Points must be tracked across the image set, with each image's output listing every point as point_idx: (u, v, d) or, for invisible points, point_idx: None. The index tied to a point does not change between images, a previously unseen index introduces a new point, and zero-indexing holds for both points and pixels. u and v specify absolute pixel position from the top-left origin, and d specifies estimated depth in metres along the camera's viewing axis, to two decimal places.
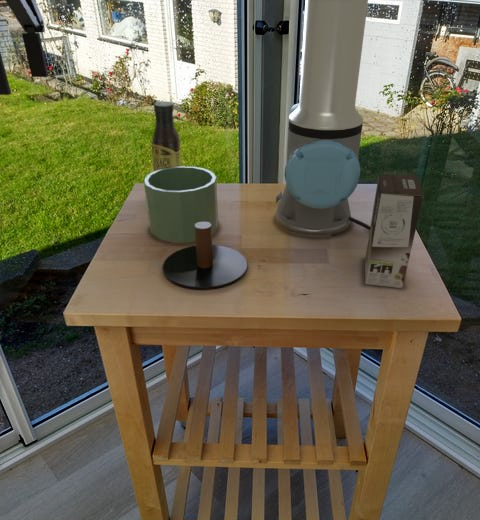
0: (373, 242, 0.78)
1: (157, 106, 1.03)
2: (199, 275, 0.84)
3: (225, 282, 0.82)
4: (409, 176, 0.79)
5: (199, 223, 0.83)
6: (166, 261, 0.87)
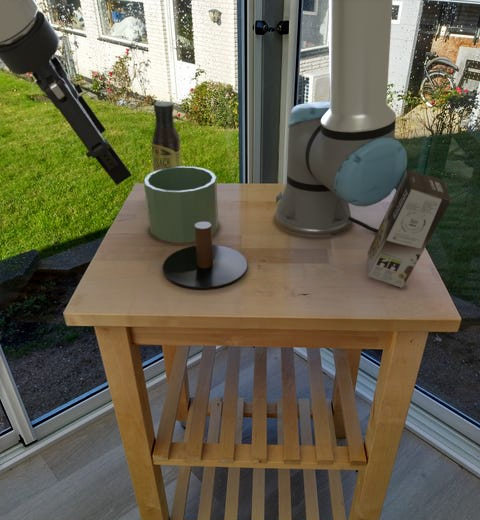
0: (388, 236, 0.77)
1: (157, 106, 1.03)
2: (199, 275, 0.84)
3: (225, 282, 0.82)
4: (435, 179, 0.79)
5: (199, 223, 0.83)
6: (166, 261, 0.87)
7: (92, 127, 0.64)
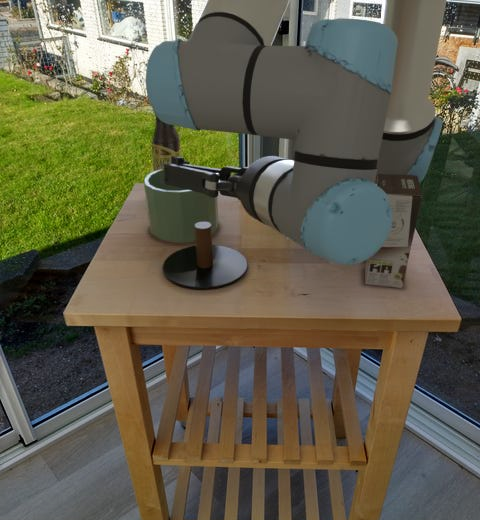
0: None
1: None
2: (199, 275, 0.84)
3: (225, 282, 0.82)
4: (409, 176, 0.79)
5: (199, 223, 0.83)
6: (166, 261, 0.87)
7: None
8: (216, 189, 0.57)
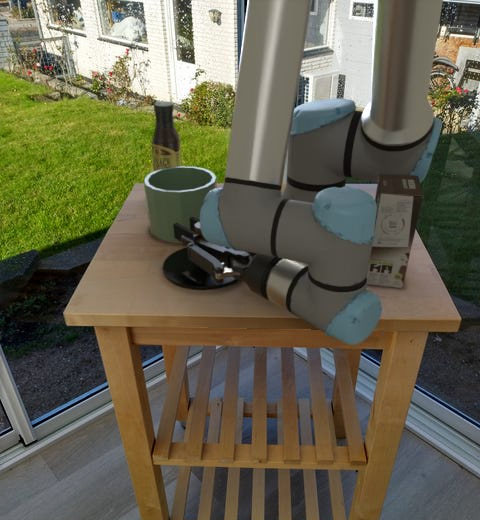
0: (373, 242, 0.78)
1: (157, 106, 1.03)
2: (199, 275, 0.84)
3: (225, 282, 0.82)
4: (410, 176, 0.79)
5: (199, 223, 0.83)
6: (166, 261, 0.87)
7: None
8: (221, 278, 0.74)
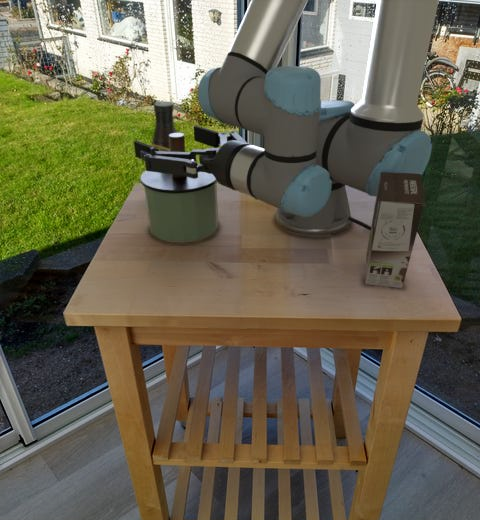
0: (373, 246, 0.77)
1: (157, 106, 1.03)
2: (173, 182, 0.91)
3: (196, 187, 0.89)
4: (412, 175, 0.76)
5: (173, 134, 0.90)
6: (144, 173, 0.95)
7: None
8: (197, 172, 0.80)
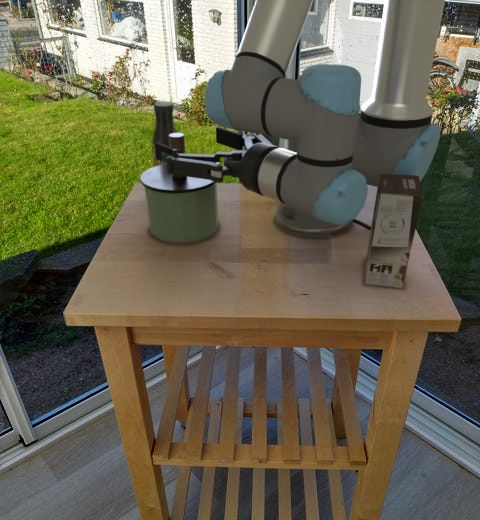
0: (373, 242, 0.79)
1: (157, 106, 1.03)
2: (173, 182, 0.91)
3: (196, 187, 0.89)
4: (410, 176, 0.79)
5: (173, 134, 0.90)
6: (144, 173, 0.95)
7: None
8: (222, 176, 0.76)
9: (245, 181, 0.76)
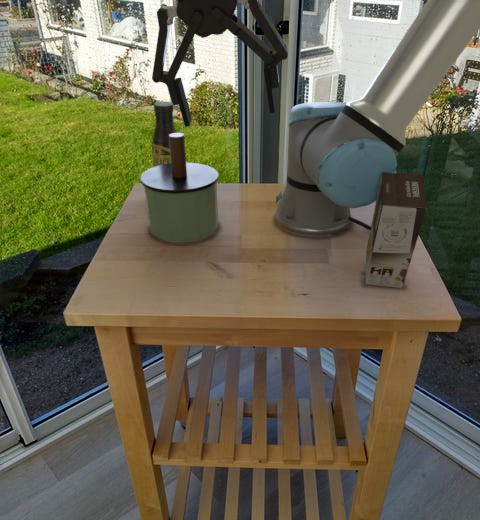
0: (374, 248, 0.77)
1: (157, 106, 1.03)
2: (173, 182, 0.91)
3: (196, 187, 0.89)
4: (414, 176, 0.75)
5: (173, 134, 0.90)
6: (144, 173, 0.95)
7: (276, 31, 0.70)
8: (162, 7, 0.67)
9: None
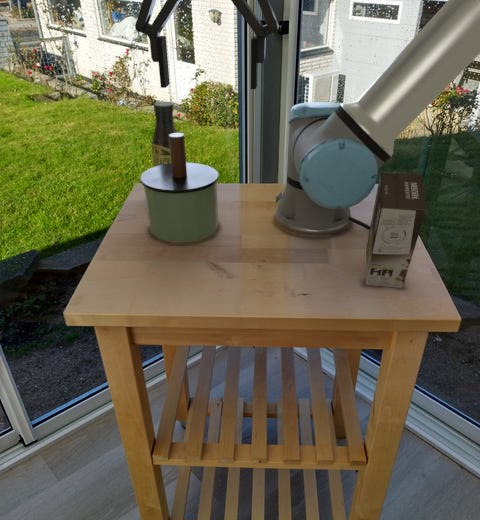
0: (373, 250, 0.77)
1: (157, 106, 1.03)
2: (173, 182, 0.91)
3: (196, 187, 0.89)
4: (413, 177, 0.75)
5: (173, 134, 0.90)
6: (144, 173, 0.95)
7: (270, 4, 0.69)
8: None
9: None
